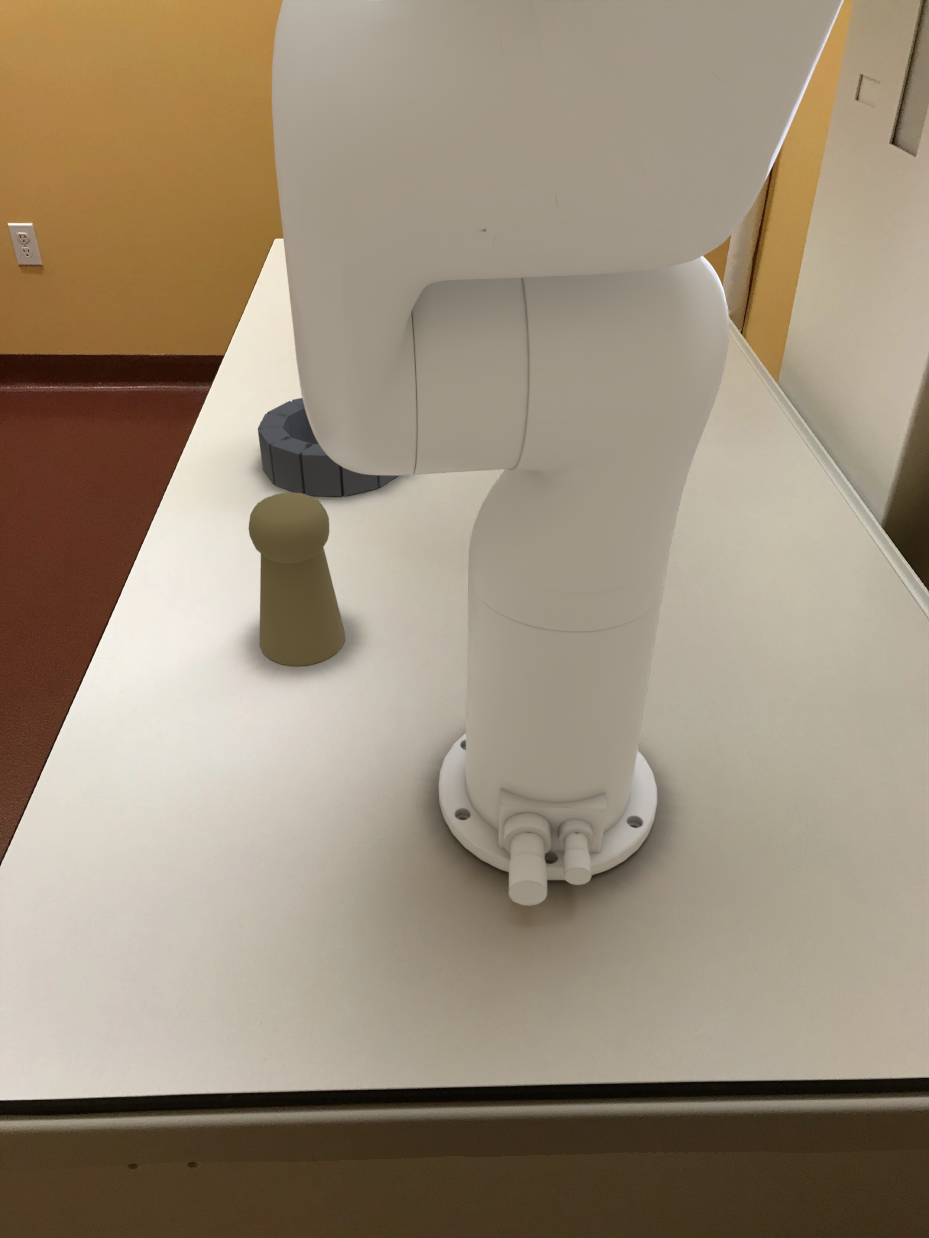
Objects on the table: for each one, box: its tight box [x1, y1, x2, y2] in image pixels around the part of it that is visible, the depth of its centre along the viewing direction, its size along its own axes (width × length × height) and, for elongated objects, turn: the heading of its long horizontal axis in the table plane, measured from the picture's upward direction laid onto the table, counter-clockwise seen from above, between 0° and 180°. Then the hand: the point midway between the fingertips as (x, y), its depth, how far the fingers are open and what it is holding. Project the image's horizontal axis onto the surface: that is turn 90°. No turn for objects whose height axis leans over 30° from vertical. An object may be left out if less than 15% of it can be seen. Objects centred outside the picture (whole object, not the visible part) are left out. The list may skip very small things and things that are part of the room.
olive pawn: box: [248, 491, 346, 667], centre depth 65 cm, size 6×6×11 cm
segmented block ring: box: [257, 397, 400, 498], centre depth 88 cm, size 13×13×4 cm
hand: (467, 165), depth 67 cm, fingers open, 9 cm apart
